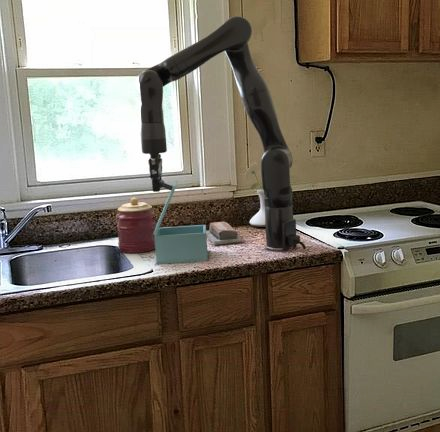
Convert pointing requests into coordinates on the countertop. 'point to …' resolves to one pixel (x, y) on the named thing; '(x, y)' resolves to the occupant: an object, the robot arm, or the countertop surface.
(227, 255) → the countertop surface
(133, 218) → the kitchen canister
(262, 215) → the flower in vase
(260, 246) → the countertop surface
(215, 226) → the packaged product
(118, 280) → the countertop surface
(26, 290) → the countertop surface
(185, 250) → the box
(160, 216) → the freezer lid
